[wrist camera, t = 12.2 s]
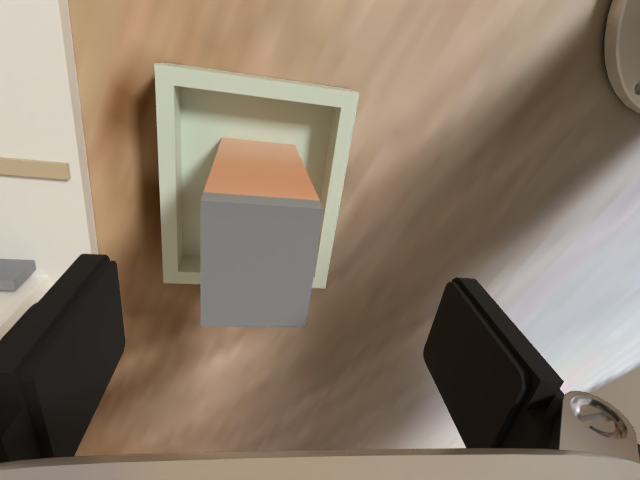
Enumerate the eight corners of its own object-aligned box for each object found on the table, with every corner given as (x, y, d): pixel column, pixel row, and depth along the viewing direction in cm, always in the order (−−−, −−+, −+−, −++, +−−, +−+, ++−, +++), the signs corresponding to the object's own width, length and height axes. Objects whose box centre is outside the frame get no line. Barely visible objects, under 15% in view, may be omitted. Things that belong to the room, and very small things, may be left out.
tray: (348, 88, 21) (359, 92, 19) (319, 268, 26) (325, 288, 24) (165, 62, 19) (154, 63, 17) (171, 261, 24) (163, 283, 22)
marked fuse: (294, 144, 21) (323, 208, 13) (286, 225, 24) (306, 326, 15) (222, 137, 21) (200, 200, 12) (219, 221, 23) (200, 326, 14)
